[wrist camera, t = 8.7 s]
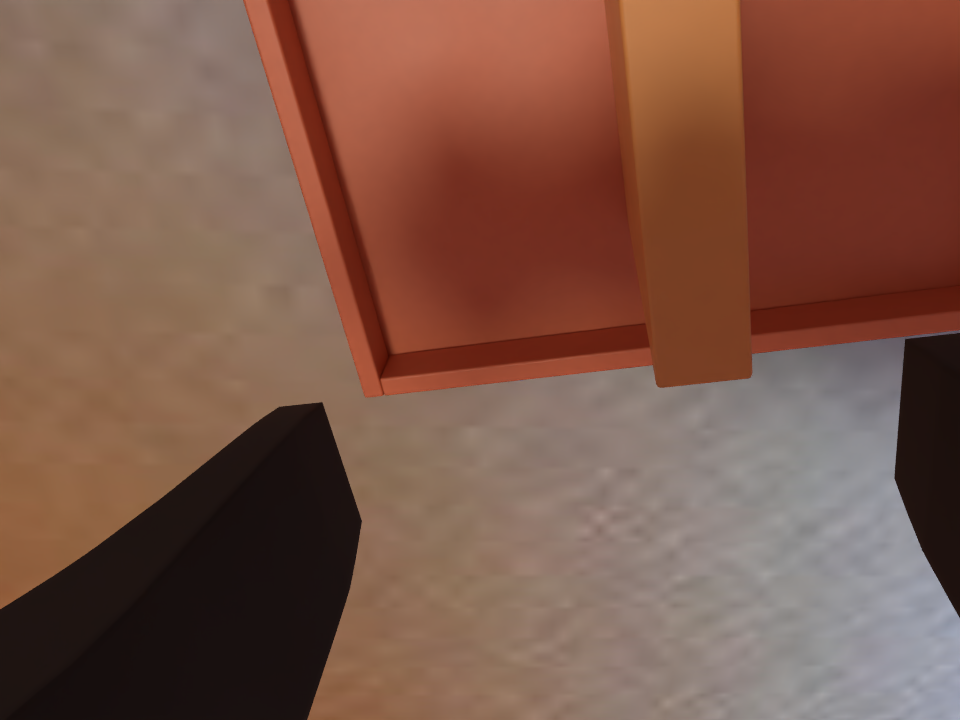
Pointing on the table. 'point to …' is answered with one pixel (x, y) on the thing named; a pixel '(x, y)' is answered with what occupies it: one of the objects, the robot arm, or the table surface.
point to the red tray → (606, 178)
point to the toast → (685, 181)
